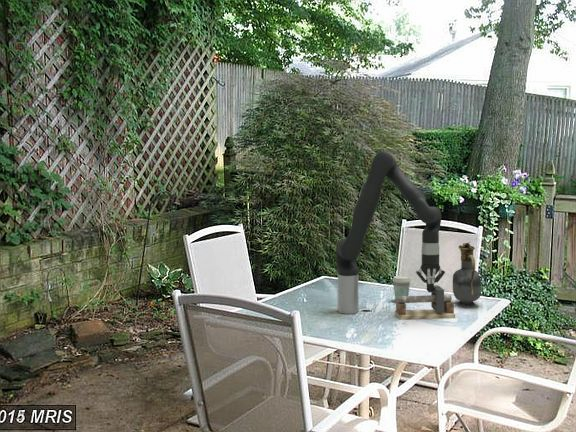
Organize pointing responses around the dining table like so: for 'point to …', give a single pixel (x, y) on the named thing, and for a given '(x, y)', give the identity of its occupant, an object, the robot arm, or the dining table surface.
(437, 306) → the collar
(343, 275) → the robot arm
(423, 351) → the dining table surface
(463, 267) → the dark grey bottle
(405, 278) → the coffee cup
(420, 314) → the pipe rig
